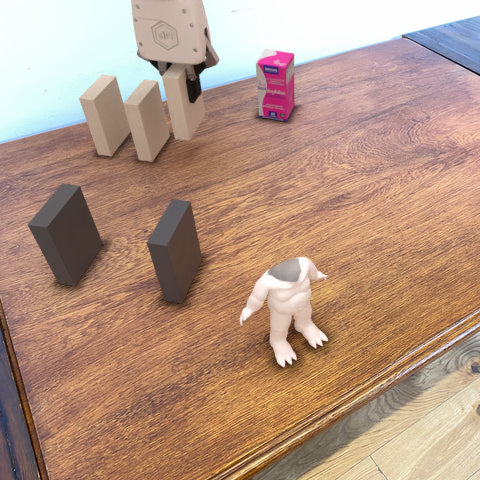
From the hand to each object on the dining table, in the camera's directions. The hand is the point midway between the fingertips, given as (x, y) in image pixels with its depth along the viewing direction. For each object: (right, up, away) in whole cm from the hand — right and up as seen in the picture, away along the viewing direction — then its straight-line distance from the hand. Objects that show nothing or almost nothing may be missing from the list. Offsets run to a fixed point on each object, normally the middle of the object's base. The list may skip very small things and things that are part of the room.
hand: (185, 96), depth 83 cm
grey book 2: (+3, -29, -13) cm, 31 cm away
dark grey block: (-12, -26, -11) cm, 31 cm away
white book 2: (-8, -7, +9) cm, 13 cm away
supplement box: (+13, +2, +18) cm, 22 cm away
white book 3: (0, -4, +4) cm, 6 cm away
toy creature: (+18, -36, -19) cm, 44 cm away
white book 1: (-15, -6, +9) cm, 19 cm away
